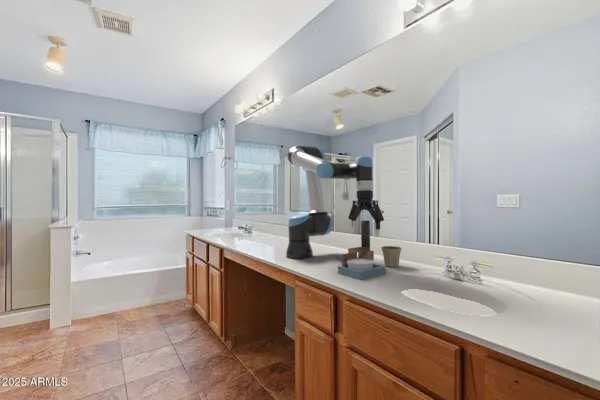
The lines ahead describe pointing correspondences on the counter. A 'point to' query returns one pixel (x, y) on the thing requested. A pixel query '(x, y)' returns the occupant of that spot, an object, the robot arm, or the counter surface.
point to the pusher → (362, 251)
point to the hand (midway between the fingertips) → (365, 235)
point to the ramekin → (360, 264)
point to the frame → (362, 272)
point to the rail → (340, 257)
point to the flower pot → (391, 255)
